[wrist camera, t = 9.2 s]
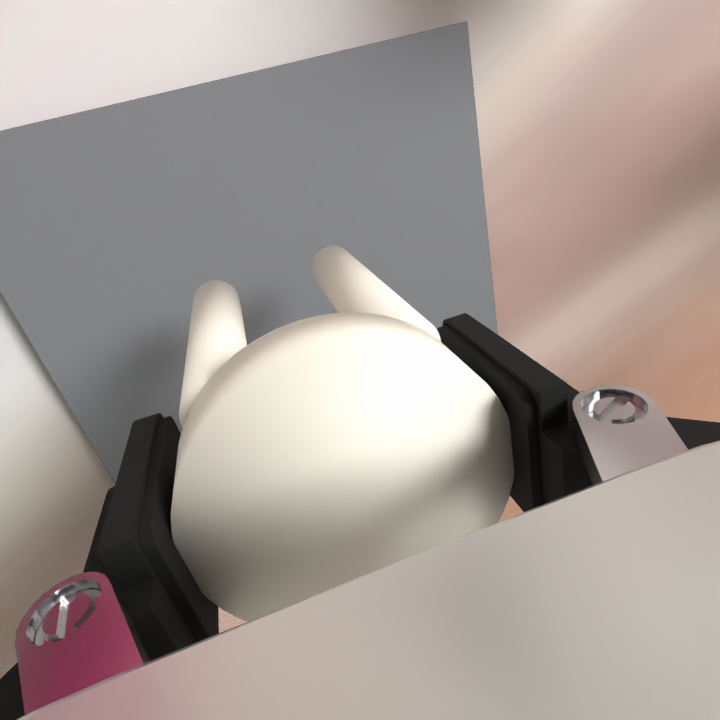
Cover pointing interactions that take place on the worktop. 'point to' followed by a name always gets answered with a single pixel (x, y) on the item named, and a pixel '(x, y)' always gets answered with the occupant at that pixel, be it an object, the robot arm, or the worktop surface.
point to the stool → (327, 443)
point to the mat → (239, 214)
